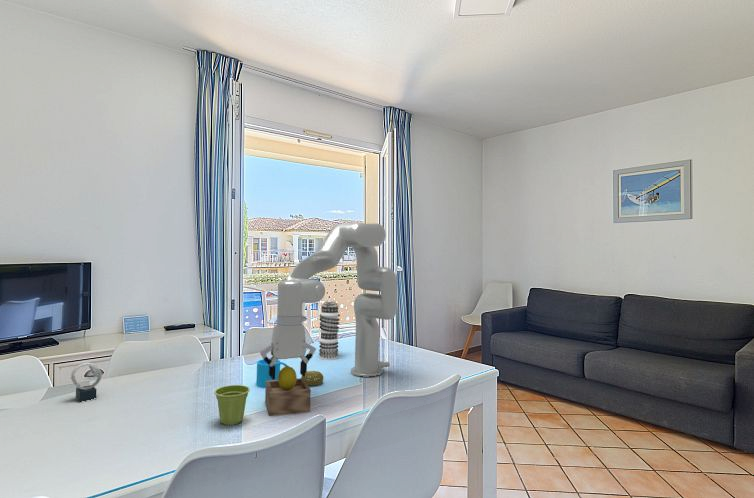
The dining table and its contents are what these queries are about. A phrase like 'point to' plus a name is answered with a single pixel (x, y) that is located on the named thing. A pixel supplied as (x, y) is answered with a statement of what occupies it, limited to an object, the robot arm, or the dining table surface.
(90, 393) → the watch
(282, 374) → the lemon
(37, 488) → the dining table surface
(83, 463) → the dining table surface
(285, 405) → the walnut box
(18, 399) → the dining table surface
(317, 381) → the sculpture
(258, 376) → the mug
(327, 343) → the decorative candle
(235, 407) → the plant pot
